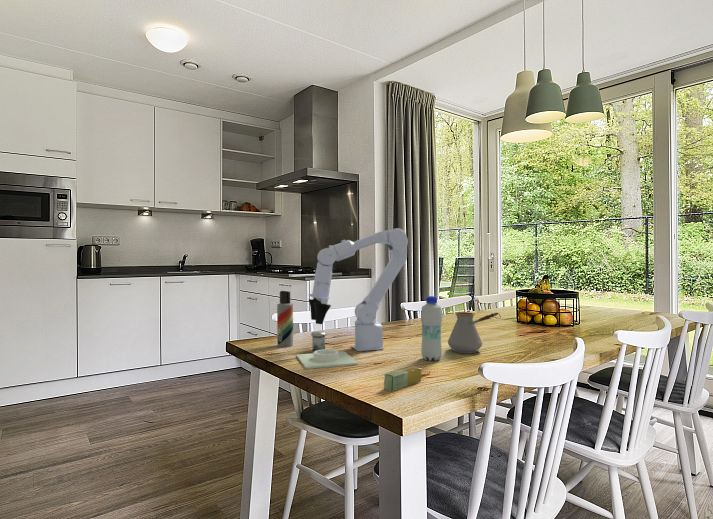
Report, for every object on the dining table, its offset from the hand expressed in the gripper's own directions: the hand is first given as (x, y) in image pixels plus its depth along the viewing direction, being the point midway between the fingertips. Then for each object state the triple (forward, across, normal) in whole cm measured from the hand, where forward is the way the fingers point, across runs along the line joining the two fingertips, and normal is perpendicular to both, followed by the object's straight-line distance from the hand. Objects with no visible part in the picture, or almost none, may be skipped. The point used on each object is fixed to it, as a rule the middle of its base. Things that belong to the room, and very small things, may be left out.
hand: (316, 321), depth 151 cm
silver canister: (+10, 0, +2) cm, 10 cm away
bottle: (+4, +24, +33) cm, 41 cm away
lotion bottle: (+12, -11, -8) cm, 18 cm away
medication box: (+7, +46, +14) cm, 48 cm away
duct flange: (+9, +15, +1) cm, 18 cm away
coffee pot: (+2, +22, +50) cm, 54 cm away
